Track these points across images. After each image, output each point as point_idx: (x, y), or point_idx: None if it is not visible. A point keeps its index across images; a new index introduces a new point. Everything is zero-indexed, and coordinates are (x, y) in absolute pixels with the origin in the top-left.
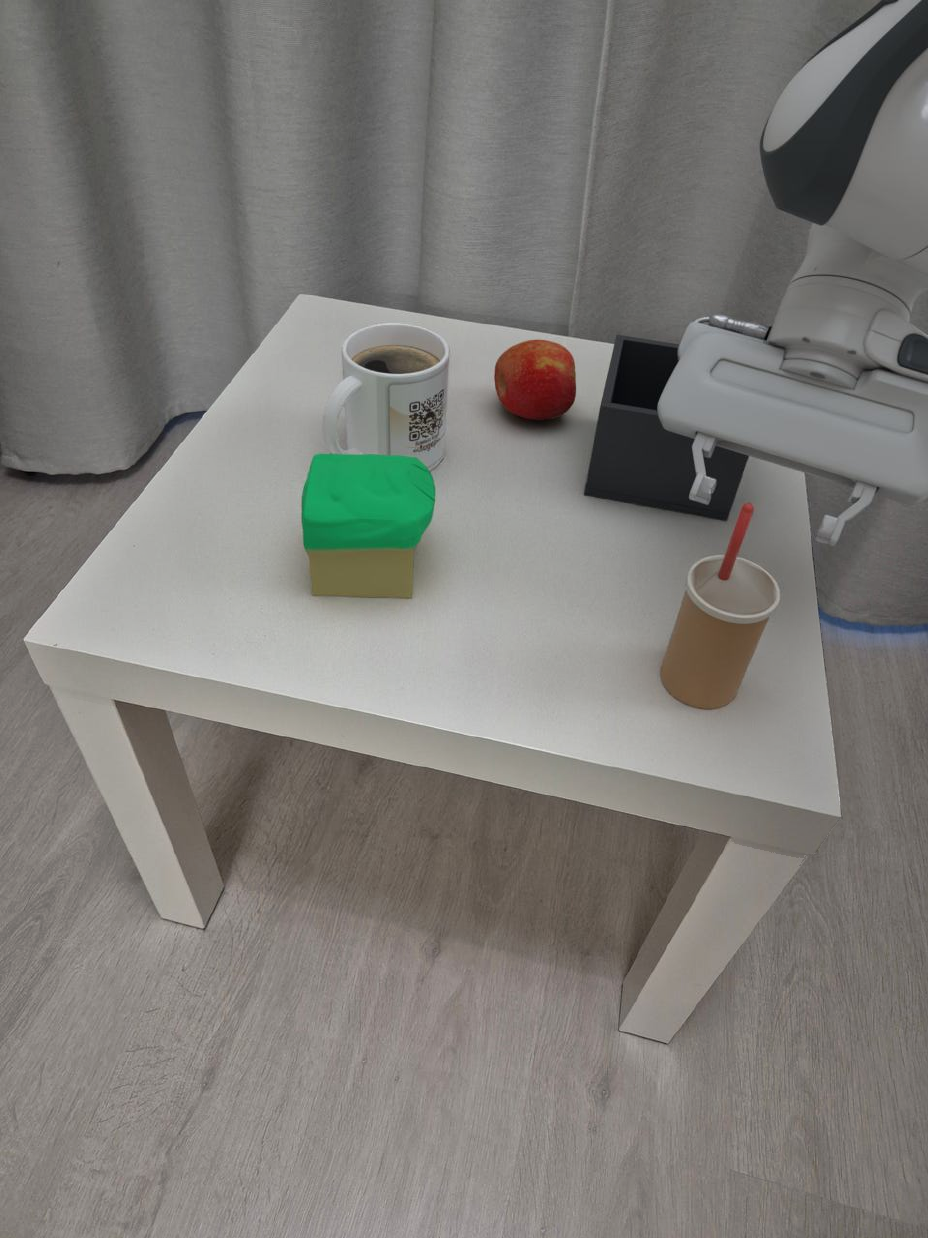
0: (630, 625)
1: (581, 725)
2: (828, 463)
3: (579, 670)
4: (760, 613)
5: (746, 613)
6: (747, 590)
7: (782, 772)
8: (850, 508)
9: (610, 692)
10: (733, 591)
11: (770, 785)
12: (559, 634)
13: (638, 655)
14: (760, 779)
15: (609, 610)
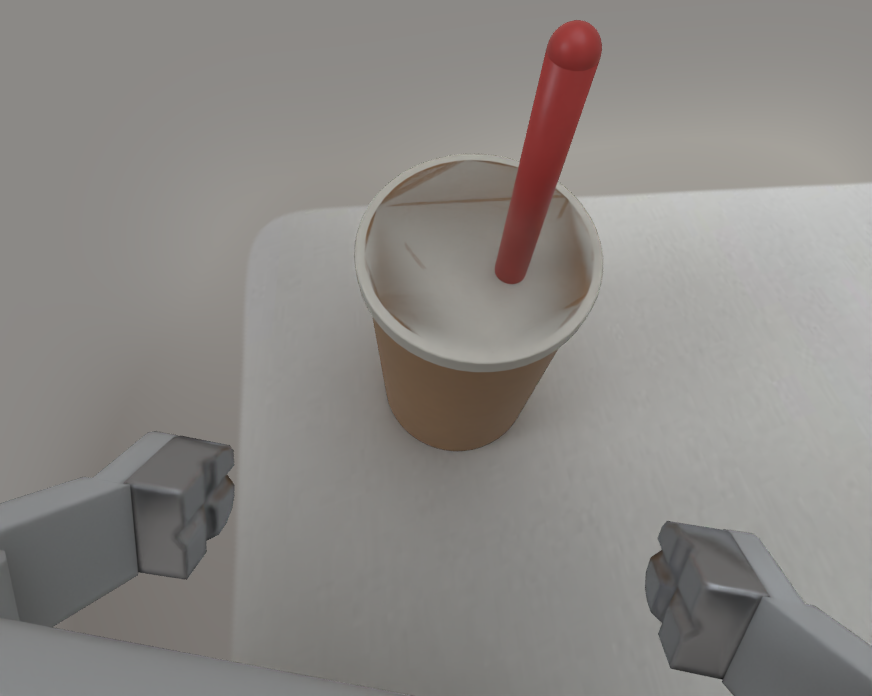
0: (607, 475)
1: (609, 239)
2: (97, 657)
3: (652, 335)
4: (403, 179)
5: (436, 168)
6: (441, 239)
7: (312, 248)
8: (48, 507)
9: None
10: (476, 226)
11: (330, 224)
12: (719, 404)
13: (570, 402)
14: (344, 229)
15: (660, 504)
